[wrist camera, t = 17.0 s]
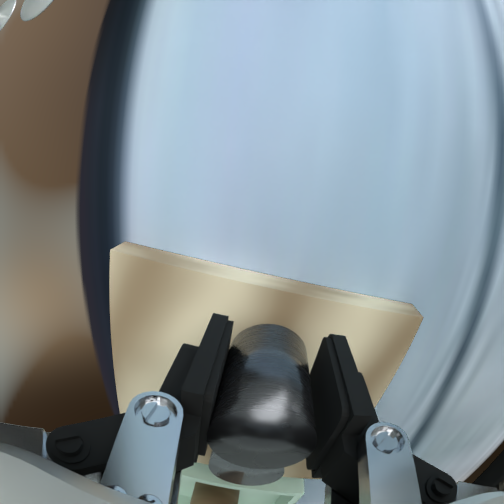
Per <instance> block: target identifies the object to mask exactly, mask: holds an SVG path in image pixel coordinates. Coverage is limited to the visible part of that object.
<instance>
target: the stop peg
mask: <svg viewBox="0 0 504 504" xmlns="http://www.w3.org/2000/svg"><path fill="white" fill-rule="evenodd" d="M239 492H240V490H235V489H229V488H224V487H219V486H214V485H209V484H205V483H200V482H195V486H194V490H193V494H192V497H191V501H190V504H238V499H239Z"/></svg>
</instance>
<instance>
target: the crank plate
mask: <svg viewBox="0 0 504 504" xmlns="http://www.w3.org/2000/svg"><path fill="white" fill-rule="evenodd" d="M213 313H216V314H221V315H226V316H229V318H228V320H230V321H234V324H233V330H232V335H231V341H230V345H231V343H232V341H233V339H234V338H235V337H236V336H237V335H238V334H239V333H240V332H241V331H243V330H245V329H246V328H249V327H251V326H254V325H259V324H276V325H280V326H284V327H286V328H289V329H290V330H292V331H294V332H295V333H296V334H297V335H298V336H299V337H300V338H301V339H302V340H303V342H304V344H305V347H306V351H307V358H308V366H309V374H310V372H311V369H312V366H313V364H314V361H315V358H316V356H317V353H318V350H319V347H320V345H321V342H322V339H323V337H328V336H329V334H336V335H343V336H346V339H347V341H348V344H349V347H350V350H351V352H352V355H353V358H354V361H355V364H356V367H357V369H358V372H361V373H362V375H363V377H364V380H365V382H366V385H367V388H368V391H369V394H370V397H371V400H372V403H373V406H374V408H375V406H376V405H377V403H378V402H379V400H380V398H381V397H382V395H383V393H384V392H385V390H386V389H387V387H388V385H389V383H390V382H391V380H392V378H393V377H394V375H395V373H396V371H397V369H398V368H399V366H400V364H401V362H402V360H403V358H404V357H405V355H406V353H407V351H408V349H409V347H410V345H411V343H412V341H413V339H414V337H415V335H416V333H417V330H418V328H419V326H420V324H421V322H422V320H423V316H422V315H421V314H420V313H419V312H418V311H417V309H416V308H415V307H414V306H413V305H412V304H409V303H404V302H399V301H394V300H389V299H383V298H378V297H373V296H368V295H363V294H358V293H353V292H349V291H344V290H339V289H334V288H329V287H324V286H320V285H315V284H310V283H305V282H301V281H296V280H291V279H287V278H282V277H277V276H273V275H268V274H264V273H259V272H254V271H250V270H245V269H241V268H236V267H232V266H228V265H223V264H219V263H214V262H210V261H206V260H201V259H197V258H193V257H188V256H184V255H180V254H175V253H171V252H167V251H163V250H158V249H154V248H150V247H146V246H142V245H138V244H133V243H129V242H123V243H122V244H120V245H118V246H116V247H114V248H113V249H111V250H110V323H111V340H112V353H113V364H114V373H115V382H116V390H117V397H118V404H119V410H120V414H122V413H126V410H127V408H128V405H129V403H130V402H131V400H132V399H133V398H134V397H135V396H137V395H138V394H141V393H143V392H149V391H157V392H159V390H160V388H161V386H162V384H163V382H164V380H165V378H166V376H167V374H168V372H169V370H170V368H171V366H172V364H173V362H174V360H175V358H176V356H177V354H178V352H179V350H180V348H181V346H182V344H184V343H186V344H190V345H194V346H198V347H199V345H200V343H201V341H202V338H203V336H204V333H205V331H206V329H207V326H208V324H209V321H210V319H211V317H212V314H213ZM229 349H230V347H229ZM211 452H212V449H211V448H210V446H209V445H208V446H207V450H206V454H205V456H201V455H198V459H197V462H198V463H202V464H207V465H209V460H210V456H211ZM282 477H291V478H306V479H321V478H312V473H311V470H308V469H307V468H306V458H305V459H304V460H302V461H300V462H298V463H296V464H294V465H291V466H287V467H284V475H283V476H282Z"/></svg>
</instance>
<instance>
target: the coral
mask: <svg viewBox="0 0 504 504" xmlns="http://www.w3.org/2000/svg"><path fill="white" fill-rule="evenodd" d="M472 484H476V485H481V486H487V487H494V488H497V489H499V490H500V491H504V450H503V451H502V452H501V454H500V455H499V456H498V457H497V458H496V459H495V460H494V461H493V462H492V463H491V465H490V466H489V467H488V468H487V469H486V470H485V471H484V472H483V473H482V474H481V475H480V476H479V477H478V478H477V479H476V480H475V481H474V482H473V483H472Z"/></svg>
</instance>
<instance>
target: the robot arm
mask: <svg viewBox="0 0 504 504" xmlns="http://www.w3.org/2000/svg"><path fill="white" fill-rule="evenodd" d="M228 318H229V316H226V315H221V314H216V313H213V314H212V317H211V319H210V321H209V324H208V326H207V329H206V331H205V333H204V336H203V338H202V341H201V343H200V345H199V347H198V346H194V345H190V344H186V343H184V344H182V346H181V348H180V350H179V352H178V354H177V356H176V358H175V360H174V362H173V364H172V366H171V368H170V370H169V372H168V374H167V376H166V378H165V380H164V382H163V384H162V386H161V388H160V390H159V392H157V391H149V392H143V393H141V394H138V395H137V396H135V397H134V398H133V399H132V400H131V402H130V403H129V405H128V408H127V410H126V413H122V414H118V415H114V416H110V417H105V418H101V419H97V420H92V421H87V422H83V423H77V424H72V425H67V426H62V427H59V428H56V429H55V430H53V431H52V432H51V433H50V432H45V431H44V429H42V428H32V427H25V426H18V425H12V424H6V423H0V504H178V497H179V489H180V482H181V475H182V470H183V469H186V468H188V467H191V466H193V465H194V463H197V459H198V455H201V456H205V454H206V450H207V446H208V442H207V432H208V429H209V425H210V421H211V417H212V413H213V410H214V406H215V402H216V398H217V394H218V390H219V387H220V383H221V379H222V375H223V371H224V367H225V364H226V360H227V356H228V352H229V347H230V341H231V335H232V330H233V324H234V321H230V320H228ZM310 382H311V391H312V400H313V409H314V419H315V429H316V439H317V442H316V446H315V449H314V450H313V452H312V453H311V454H310V455H309V456H308V457H307V458H306V468H307V469H308V470H311V473H312V478H322V481H323V482H324V483H325V484H326V488H325V502H324V504H504V491H500V490H499V489H497V488H494V487H487V486H481V485H476V484H470V483H465V482H460V481H458V482H457V483H456V482H455V481H454V479H453V478H452V477H451V476H450V475H448V474H447V473H445V472H443V471H441V470H439V469H438V468H436V467H434V466H432V465H430V464H429V463H427V462H425V461H423V460H422V459H420V458H418V457H416V456H415V455H413V454H412V451H411V447H410V443H409V439H408V437H407V435H406V433H405V432H404V431H403V430H402V429H401V428H399V427H398V426H396V425H394V424H392V423H387V422H379V421H378V418H377V415H376V412H375V409H374V406H373V403H372V400H371V397H370V394H369V391H368V388H367V385H366V382H365V380H364V377H363V375H362V373H361V372H358V369H357V367H356V364H355V361H354V358H353V355H352V352H351V350H350V347H349V344H348V341H347V339H346V336H343V335H336V334H329V336H328V337H323V339H322V342H321V345H320V347H319V350H318V353H317V356H316V358H315V361H314V364H313V366H312V369H311V372H310Z"/></svg>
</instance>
